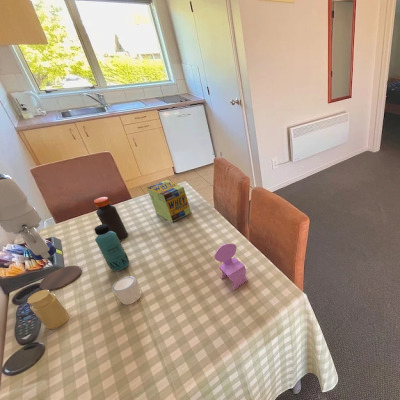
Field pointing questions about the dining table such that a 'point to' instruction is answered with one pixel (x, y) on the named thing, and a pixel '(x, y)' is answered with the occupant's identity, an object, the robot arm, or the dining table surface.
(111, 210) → the vinegar
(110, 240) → the beverage bottle
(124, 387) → the dining table surface
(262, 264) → the dining table surface
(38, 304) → the honey jar
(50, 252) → the lid
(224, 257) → the toy chair
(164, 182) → the protein box
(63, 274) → the coaster
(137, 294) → the shot glass
